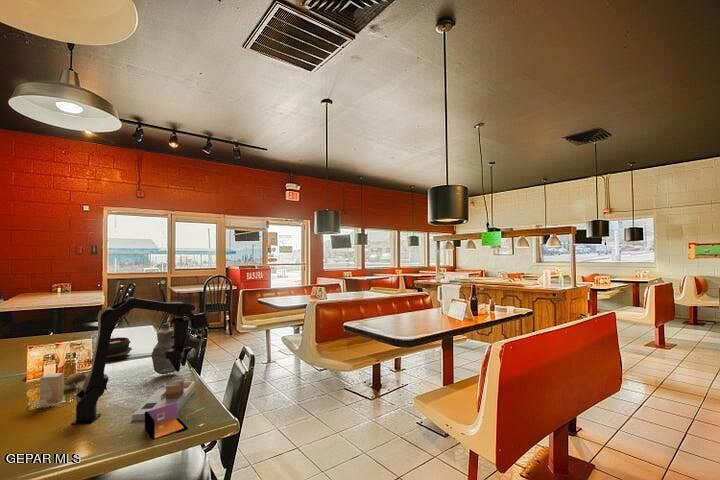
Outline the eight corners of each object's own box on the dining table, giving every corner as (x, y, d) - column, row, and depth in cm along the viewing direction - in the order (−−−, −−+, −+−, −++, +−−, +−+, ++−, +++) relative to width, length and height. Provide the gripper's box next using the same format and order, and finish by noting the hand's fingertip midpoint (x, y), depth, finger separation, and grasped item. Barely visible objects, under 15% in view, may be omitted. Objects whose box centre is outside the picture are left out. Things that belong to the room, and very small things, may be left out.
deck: (173, 418, 126) (173, 406, 126) (132, 421, 124) (132, 409, 124) (194, 391, 150) (194, 381, 150) (159, 393, 148) (159, 383, 148)
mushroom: (60, 389, 153) (60, 375, 153) (81, 383, 160) (81, 369, 160) (68, 393, 149) (68, 378, 149) (90, 386, 156) (90, 372, 157)
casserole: (89, 354, 205) (89, 339, 206) (126, 347, 219) (126, 334, 219) (98, 363, 188) (98, 348, 188) (137, 355, 202) (137, 341, 202)
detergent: (180, 368, 178) (180, 320, 179) (182, 372, 172) (182, 322, 173) (151, 374, 171) (151, 323, 171) (151, 378, 165) (152, 326, 166)
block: (179, 398, 137) (179, 385, 137) (165, 399, 136) (165, 386, 137) (183, 392, 142) (183, 380, 142) (170, 393, 141) (170, 381, 141)
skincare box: (38, 409, 134) (38, 377, 135) (45, 404, 139) (45, 373, 139) (58, 407, 136) (58, 375, 136) (64, 402, 140) (64, 372, 141)
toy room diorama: (139, 431, 118) (139, 411, 118) (177, 418, 126) (177, 400, 126) (149, 445, 109) (149, 423, 109) (189, 430, 118) (189, 410, 118)
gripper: (194, 336, 139) (194, 375, 139) (206, 326, 157) (206, 360, 157) (164, 338, 137) (164, 377, 137) (180, 327, 155) (180, 362, 155)
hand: (180, 368), depth 146 cm, fingers open, 7 cm apart
